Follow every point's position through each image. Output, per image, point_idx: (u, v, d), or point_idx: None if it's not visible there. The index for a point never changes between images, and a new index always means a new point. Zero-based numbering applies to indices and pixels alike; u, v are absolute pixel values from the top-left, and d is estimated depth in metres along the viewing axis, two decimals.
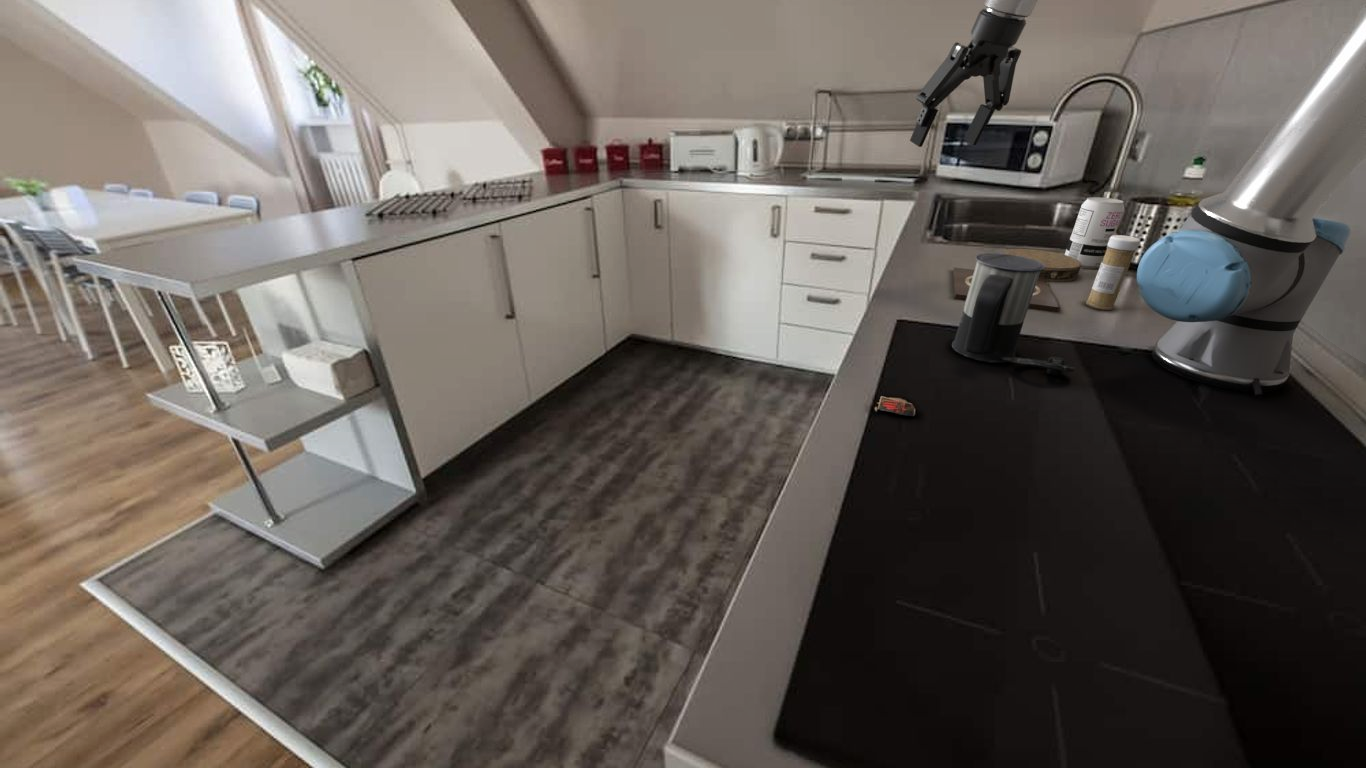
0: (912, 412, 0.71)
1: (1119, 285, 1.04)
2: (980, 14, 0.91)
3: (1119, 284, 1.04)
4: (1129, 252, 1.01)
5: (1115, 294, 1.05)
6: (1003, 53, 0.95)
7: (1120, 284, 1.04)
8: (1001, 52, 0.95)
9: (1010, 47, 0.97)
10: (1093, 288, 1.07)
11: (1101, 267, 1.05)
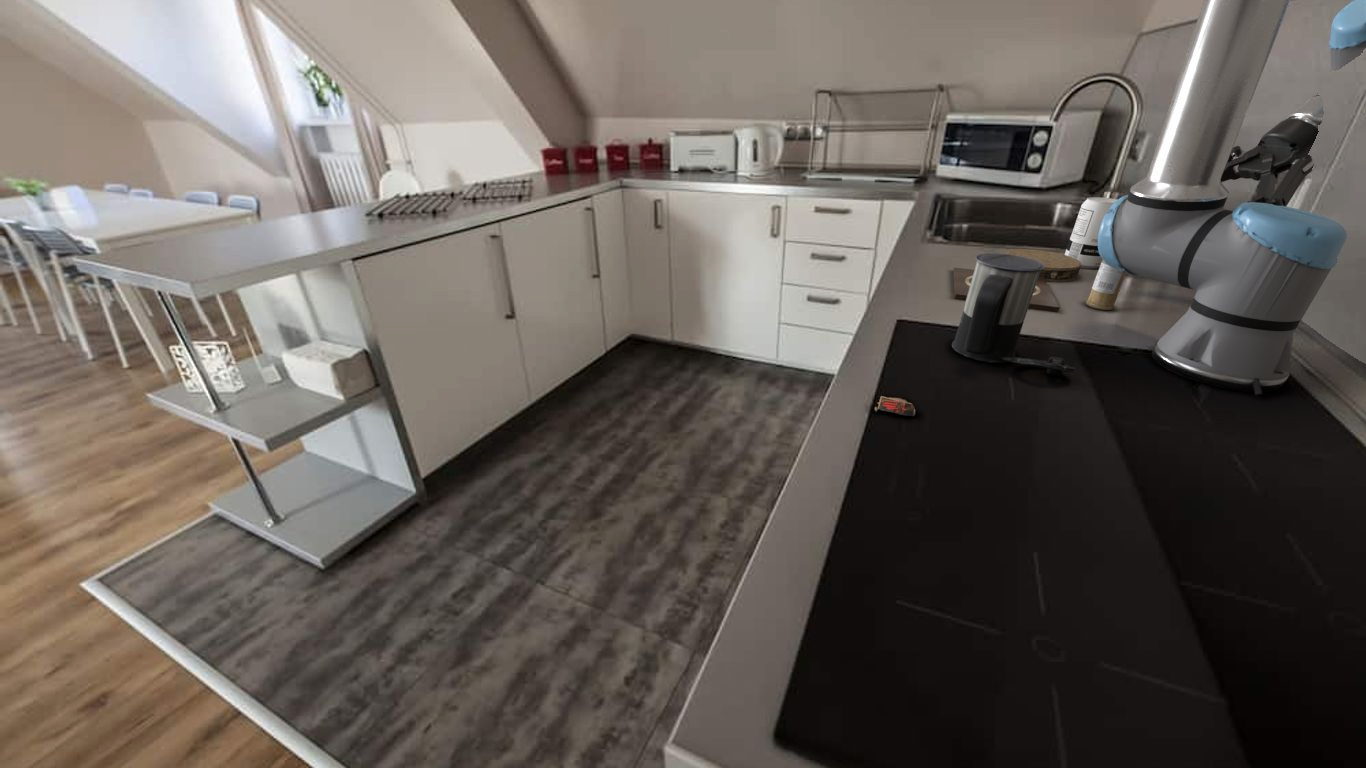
0: (912, 412, 0.71)
1: (1119, 285, 1.04)
2: None
3: (1119, 284, 1.04)
4: None
5: (1115, 294, 1.05)
6: (1284, 156, 0.93)
7: (1120, 284, 1.04)
8: (1282, 154, 0.94)
9: None
10: (1093, 288, 1.07)
11: (1101, 267, 1.05)
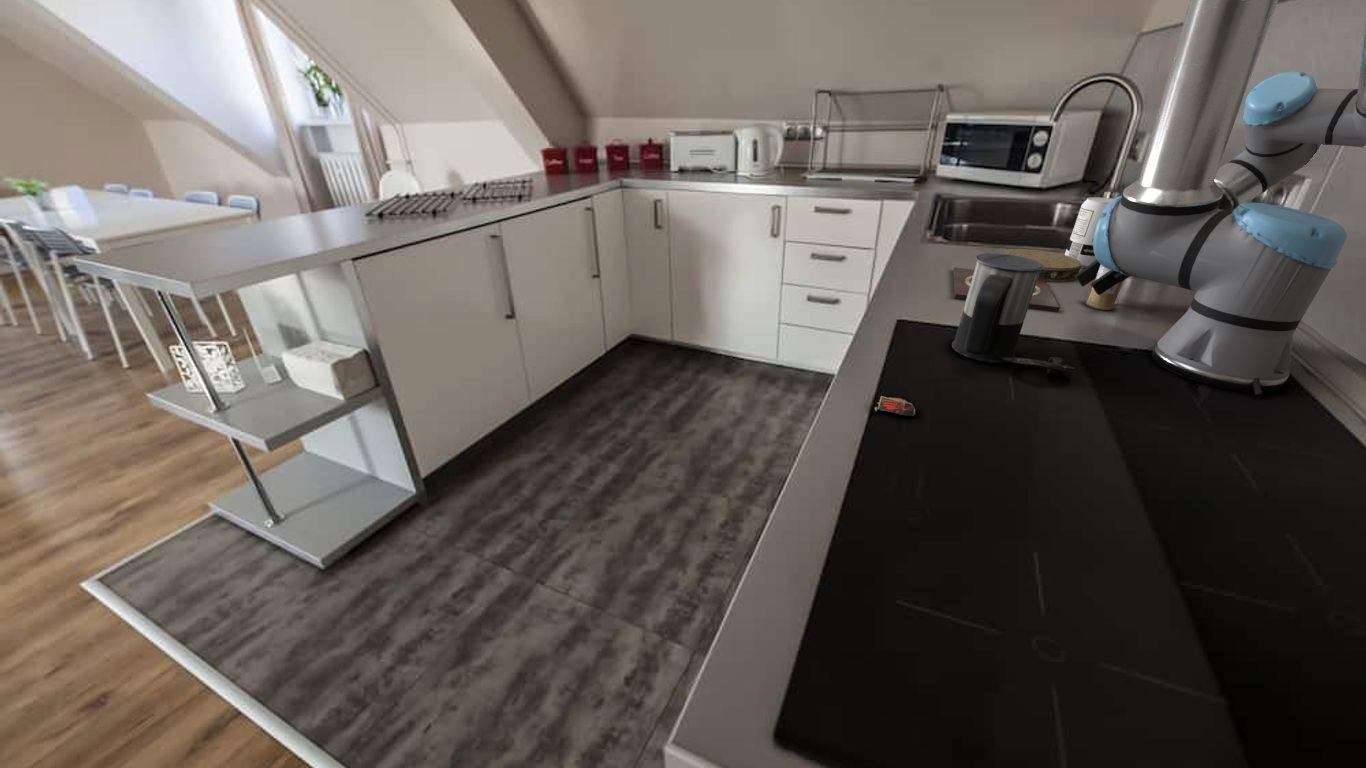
0: (912, 412, 0.71)
1: (1119, 285, 1.04)
2: None
3: (1119, 284, 1.04)
4: None
5: (1115, 294, 1.05)
6: None
7: (1120, 284, 1.04)
8: None
9: None
10: None
11: (1101, 267, 1.05)
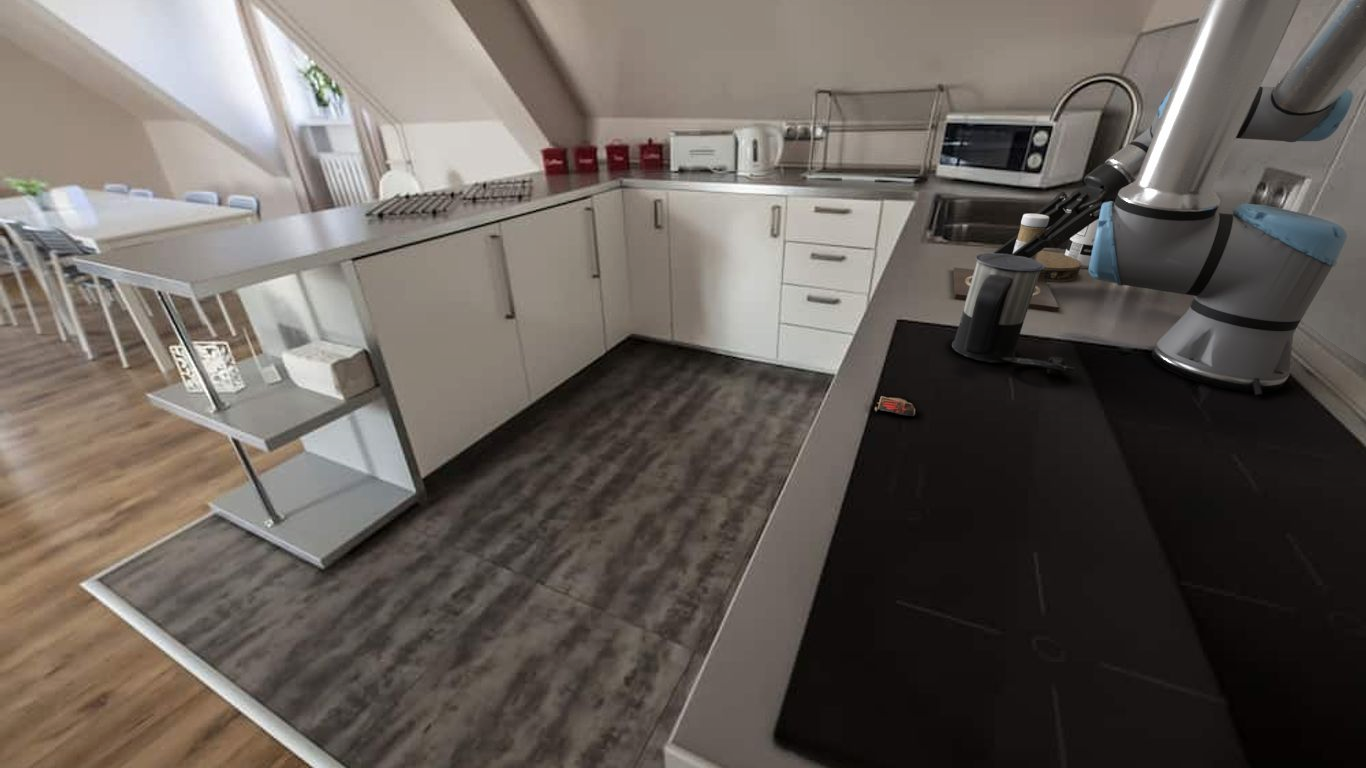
0: (912, 412, 0.71)
1: None
2: None
3: None
4: (1039, 229, 1.08)
5: None
6: (1096, 196, 1.04)
7: (1033, 259, 1.11)
8: (1094, 195, 1.05)
9: None
10: None
11: (1016, 244, 1.12)
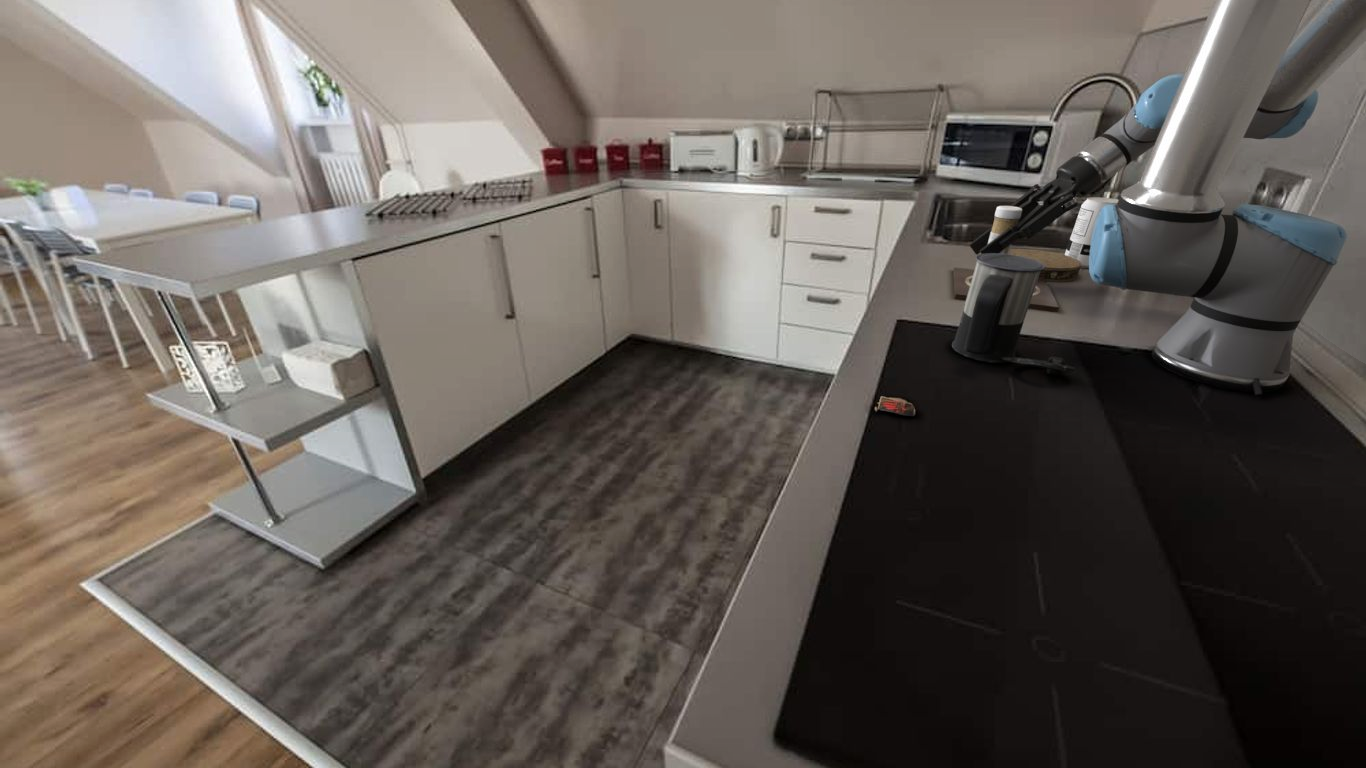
0: (912, 412, 0.71)
1: (1006, 252, 1.12)
2: None
3: (1006, 251, 1.12)
4: (1012, 221, 1.09)
5: None
6: (1067, 188, 1.05)
7: (1007, 251, 1.12)
8: (1065, 187, 1.06)
9: (1075, 200, 1.04)
10: None
11: (990, 236, 1.13)
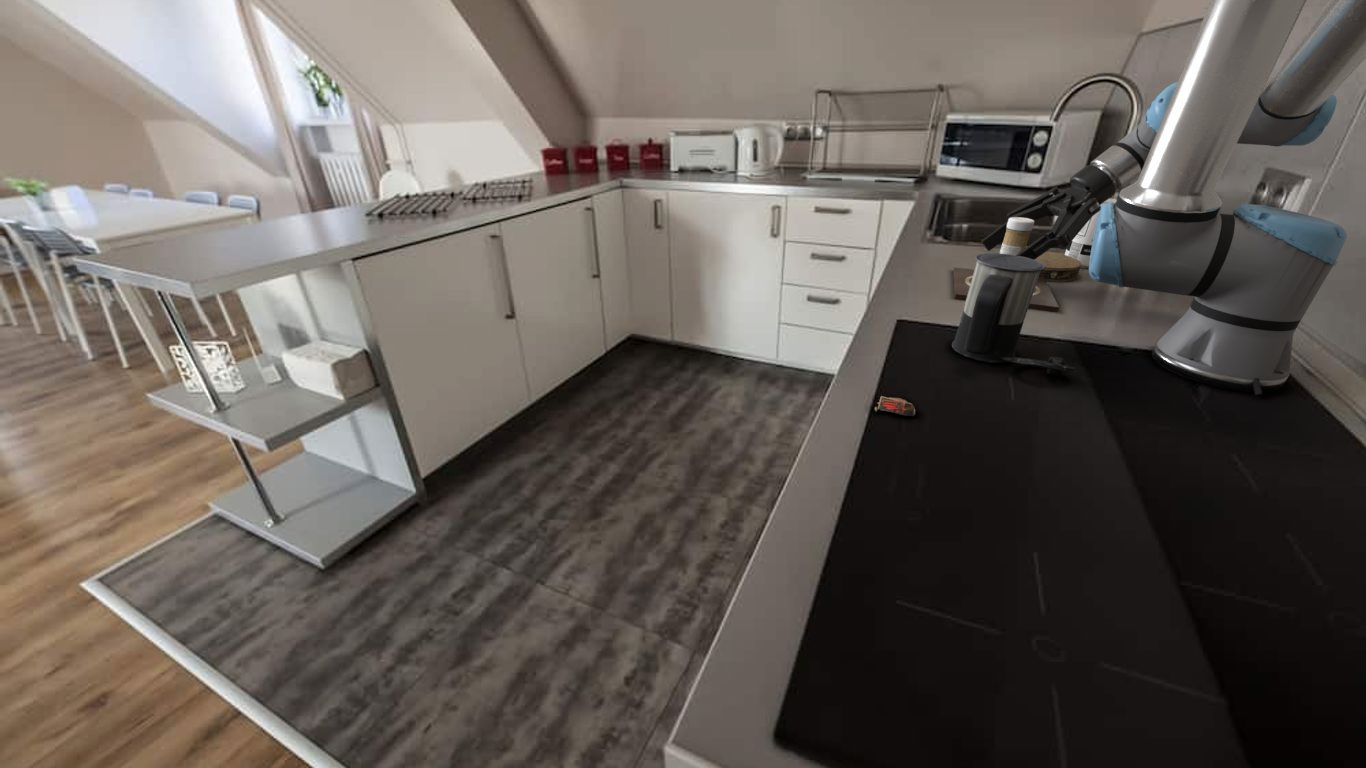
0: (912, 412, 0.71)
1: None
2: None
3: None
4: (1024, 233, 1.09)
5: None
6: (1080, 197, 1.04)
7: None
8: (1079, 196, 1.05)
9: None
10: None
11: (1002, 247, 1.13)
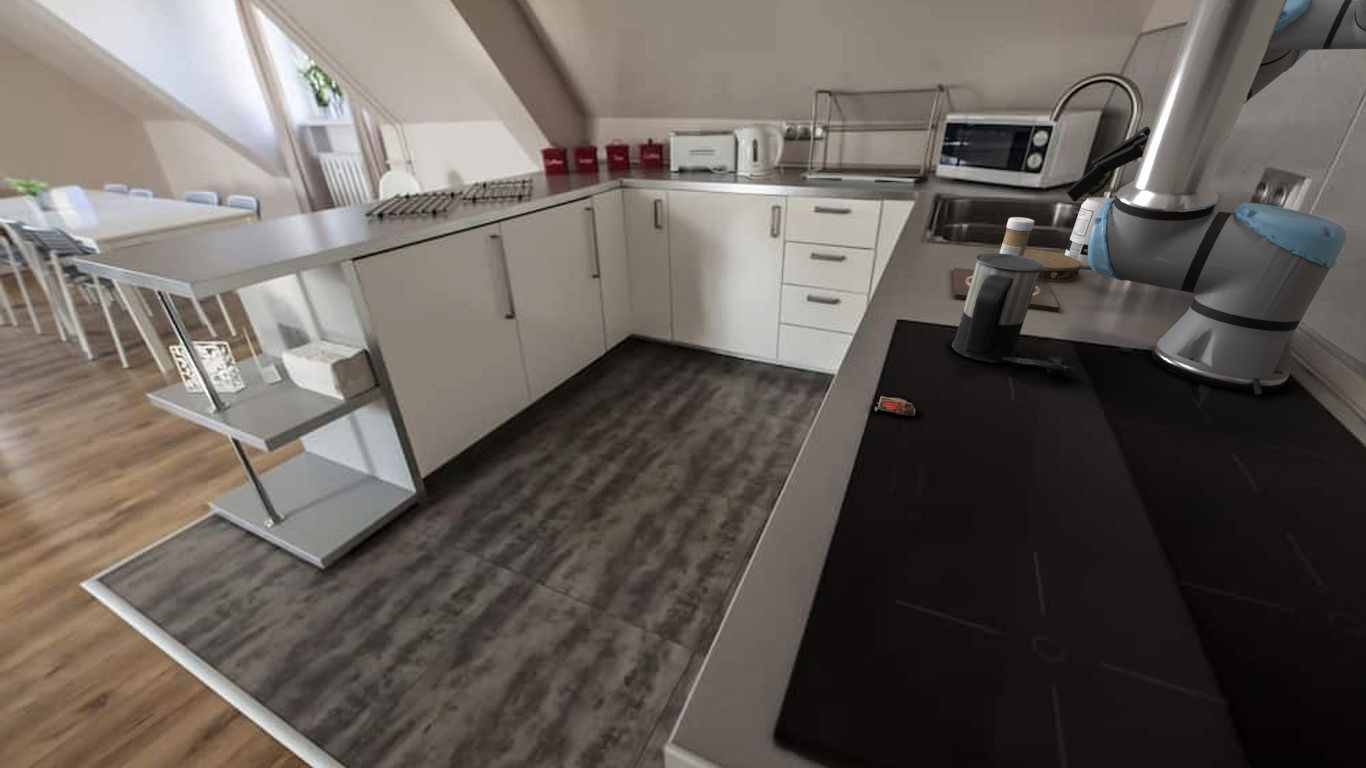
0: (912, 412, 0.71)
1: None
2: None
3: None
4: (1024, 233, 1.09)
5: None
6: None
7: None
8: None
9: None
10: None
11: (1002, 247, 1.13)
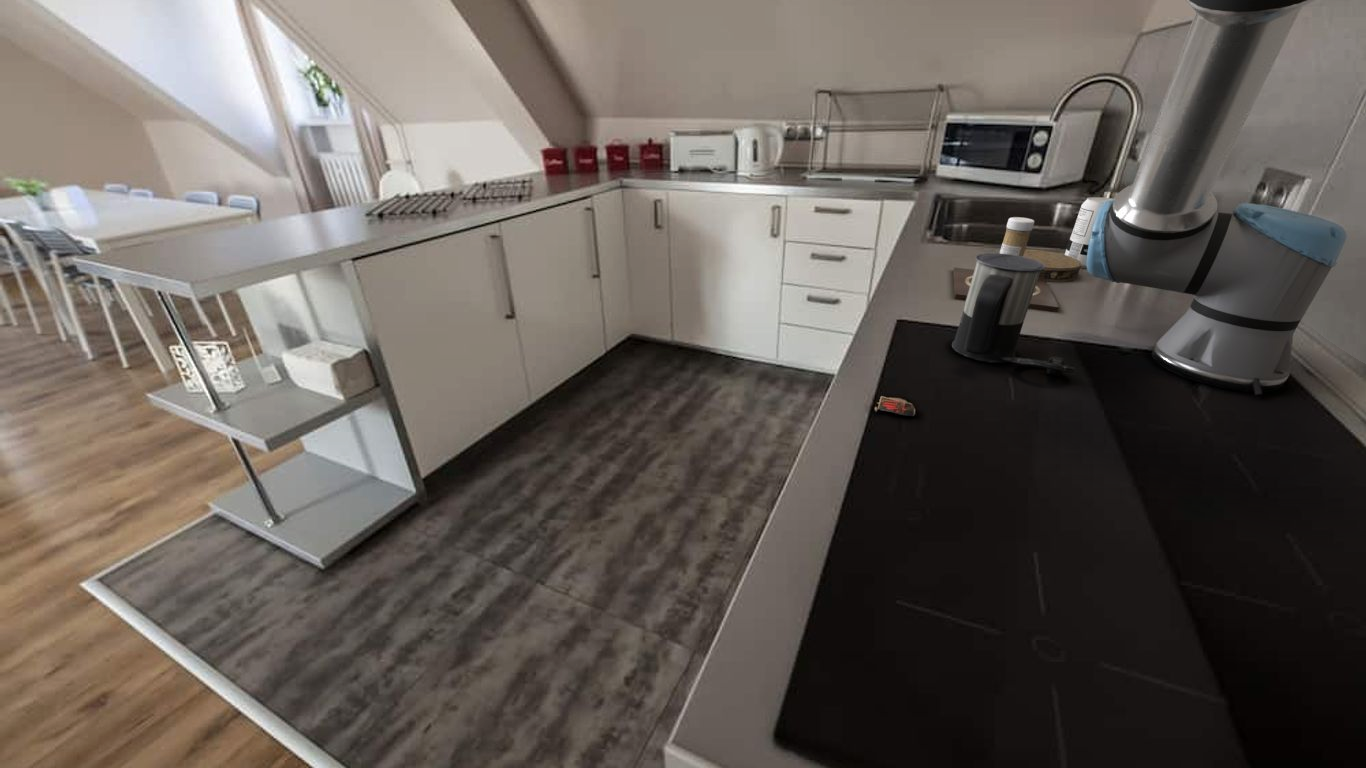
0: (912, 412, 0.71)
1: None
2: None
3: None
4: (1024, 233, 1.09)
5: None
6: None
7: None
8: None
9: None
10: None
11: (1002, 247, 1.13)
